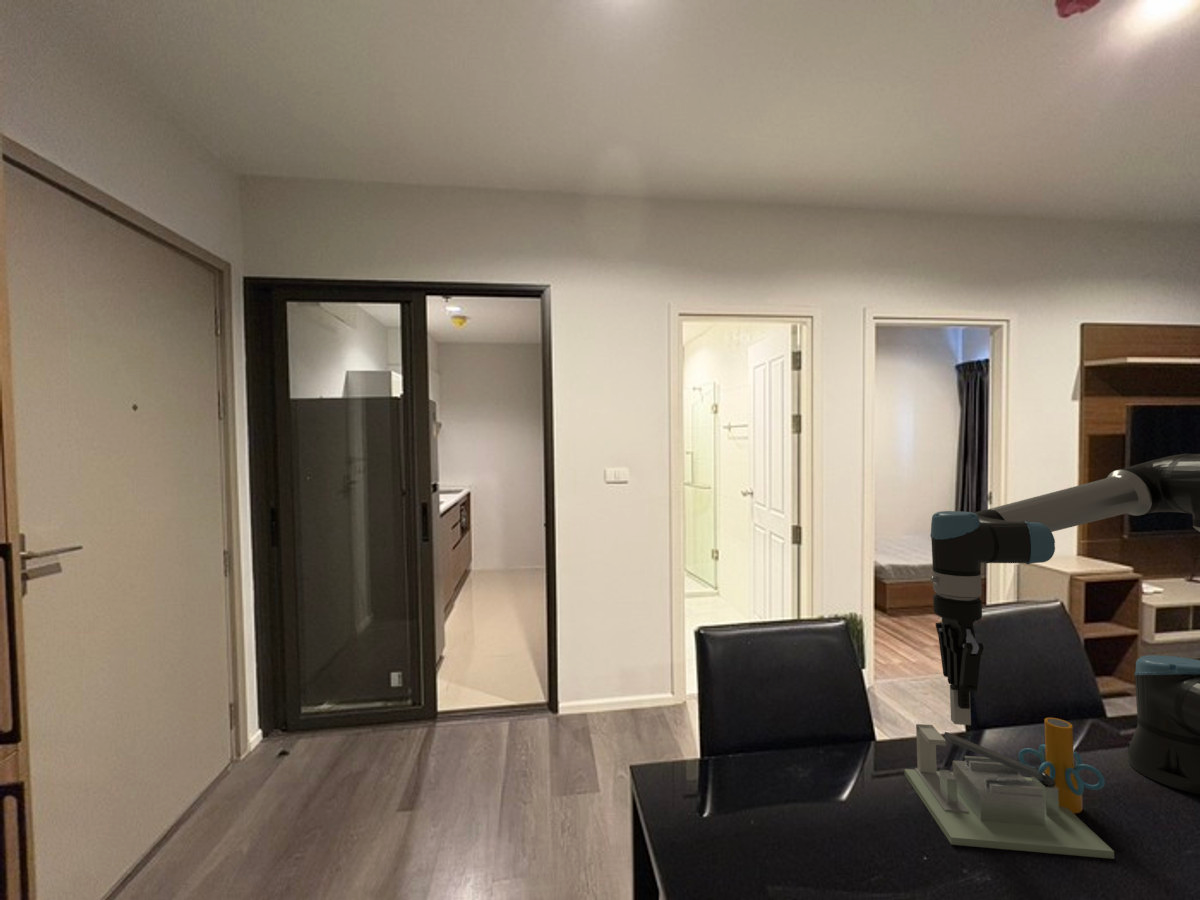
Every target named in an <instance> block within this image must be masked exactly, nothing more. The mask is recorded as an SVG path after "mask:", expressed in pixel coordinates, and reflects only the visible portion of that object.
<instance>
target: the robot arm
mask: <svg viewBox="0 0 1200 900" xmlns="http://www.w3.org/2000/svg"><path fill="white" fill-rule="evenodd" d="M1151 513H1153V514H1154V513H1183V514H1189V515H1190V514H1191V515H1192V528H1194V529H1195V530H1196V531H1198V532H1199V533H1200V453H1181V454H1174V455H1168V456H1164V457H1160V458H1158V459H1152V460H1149V461H1146V462H1142V463H1138V464H1134V465H1131V466H1127V467H1125V468H1119V469H1116V470H1113V471H1112V472H1110V473H1109V474H1108V475H1107V477H1106V478H1103V479H1098V480H1095V481H1091V482H1088V483H1087V482H1086V483H1083V484H1080V485H1075V486H1071V487H1067V488H1064V489H1060V490H1056V491H1053V492H1049V493H1046V494H1045V493H1044V494H1041V495H1037V496H1033V497H1030V498H1026V499H1022V500H1017V501H1015V502H1010V503H1006V504H1003V505H1000V506H996V507H992V508H991V507H990V508H989V509H983V510H979V511H975V512H971V511H960V510H959V511H956V510H955V511H953V510H943V511H942V510H941V511H936V512H934V513H933V514H932V516H931V523H930V524H931V525H930V540H931V557H932V558H931V561H932V562H931V563H932V576H931V577H930V581H931V583H932V590H933V591H934V592H935V593H934V594H933V596H932V597H933V598H932V599H933V604H932V605H933V612H934V614H935V615H936V616H938V617H940V618H941V622H935V628H936V632H937V635H938V636H937V637H938V644H939V650H940V651H939V652H940V658H941V659H940V660H941V667H942V673H943V676H944V677H945V678H947V682H948V684H949V699H950V703H949V704H950V722H951V723H953V724H954V725H960V726H961V725H963V726H972V719H971V718H972V717H971V715H972V714H971V692H977V691H978V688H979V686H978V685H979V677H980V667H981V658H982V654H983V652H984V649H985V648H984V645H983V643H982V642H977V641H976V639H975V638H976V632H975V631H976V630H975V627H974V623H975V622H976V621H977V622H978V621H980V620H981V619H982V618H983V603H982V602H983V601H982V599H981V596H982V594H983V593H982V591H983V590H982V573H981V569H982V564H1026V565H1030V564H1038V563H1045V562H1048V561H1051V559H1052V558H1053V556H1054V554H1055V552H1056V541H1055V540H1056V539H1055V536H1054V534H1053V532H1058V531H1061V530H1065V529H1069V528H1073V527H1077V526H1081V525H1084V524H1088V523H1093V522H1097V521H1100V520H1102V521H1103V520H1106V519H1109V518H1113V517H1117V516H1121V515H1124V514H1125V515H1126V514H1128V515H1130V516H1134V517H1135V516H1137V517H1138V516H1142V515H1147V514H1151ZM1133 675H1134V680H1135V681H1134V683H1135V698H1136V699H1135V700H1136V715H1137V716H1136V718H1137V724H1136V725H1137V726H1136V728H1135V730H1134V733H1133V736H1132V738H1131V740H1130V743H1129V745H1128V746H1127V747H1126V756H1127V757H1126V759H1127V763H1128V764H1129V766H1130V767H1131V768H1132V769H1134V770H1135V771H1136V772H1139V774H1142V775H1143V776H1144V777H1147V778H1149V779H1151V780H1152V781H1155V782H1158V783H1160V784H1162V785H1165V786H1166V787H1167V786H1168V787H1170V788H1173V789H1176V790H1179V791H1183V792H1186V793H1191V794H1195V795H1200V659H1195V658H1188V657H1182V656H1181V657H1180V656H1174V655H1173V656H1172V655H1156V654H1155V655H1154V654H1152V655H1151V654H1150V655H1143V656H1140V657H1138V658H1137V660H1136V661H1135V672H1134V674H1133Z"/></svg>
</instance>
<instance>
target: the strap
mask: <svg viewBox="0 0 1200 900" xmlns="http://www.w3.org/2000/svg"><path fill="white" fill-rule="evenodd" d="M943 737H944V738H946V739H947V740H946V741H948V742H949V743H951V744H953V745H955V746H959V747H961V748H963V749H966V750H968V751H970V752H973V753H974V754H978V755H980V756H981V757H987V758H989V759H992V760H994V761H997V762H999V763H1002V764H1004V765H1006V766H1009V767H1011V768H1014V769H1016V770H1018V772H1019V771H1020V772H1021V773H1022V774H1023V773H1024V774H1025V775H1026V774H1027V775H1028V776H1031V777H1032V776H1033V777H1036V778H1038V779H1040V780H1043V781H1045V782H1046V783H1047V784H1048V785H1049V786H1051V787H1053V786H1055V784H1056V783H1055V781H1054V780H1053V779H1052V778H1050V777H1049V776H1048V775H1047V774H1046V773H1045V772H1040V771H1039V767H1040V766H1035V768H1033V767H1034V766H1031V765H1029V764H1028V765H1029V766H1028V765H1026V764H1023V763H1021V762H1020V761H1018V760H1016V759H1013V758H1011V757H1008V756H1006V755H1004V754H1001V753H998V752H996V751H994V750H993V749H992V750H991V749H989V748H986V747H984V746H982V745H980V744H977V743H974V742H972V741H969V740H967V739H965V738H962V737H960V736H957V735H954V734H952V733H950V732H947V731H945V732H944V733H943Z"/></svg>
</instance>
